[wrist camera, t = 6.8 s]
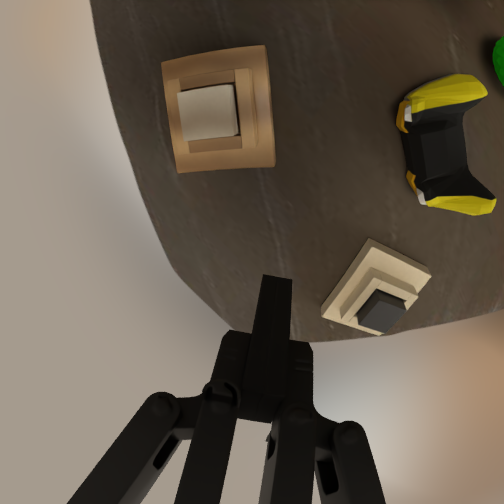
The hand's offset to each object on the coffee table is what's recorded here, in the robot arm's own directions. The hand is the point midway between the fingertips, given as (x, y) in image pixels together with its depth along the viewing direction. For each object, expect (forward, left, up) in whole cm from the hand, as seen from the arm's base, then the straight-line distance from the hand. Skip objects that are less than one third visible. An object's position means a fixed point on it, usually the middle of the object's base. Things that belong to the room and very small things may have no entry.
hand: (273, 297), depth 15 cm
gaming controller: (-9, +16, -17) cm, 25 cm away
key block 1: (-8, -7, -17) cm, 20 cm away
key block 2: (+11, +14, -17) cm, 25 cm away
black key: (+11, +14, -13) cm, 22 cm away
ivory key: (-8, -7, -13) cm, 17 cm away
